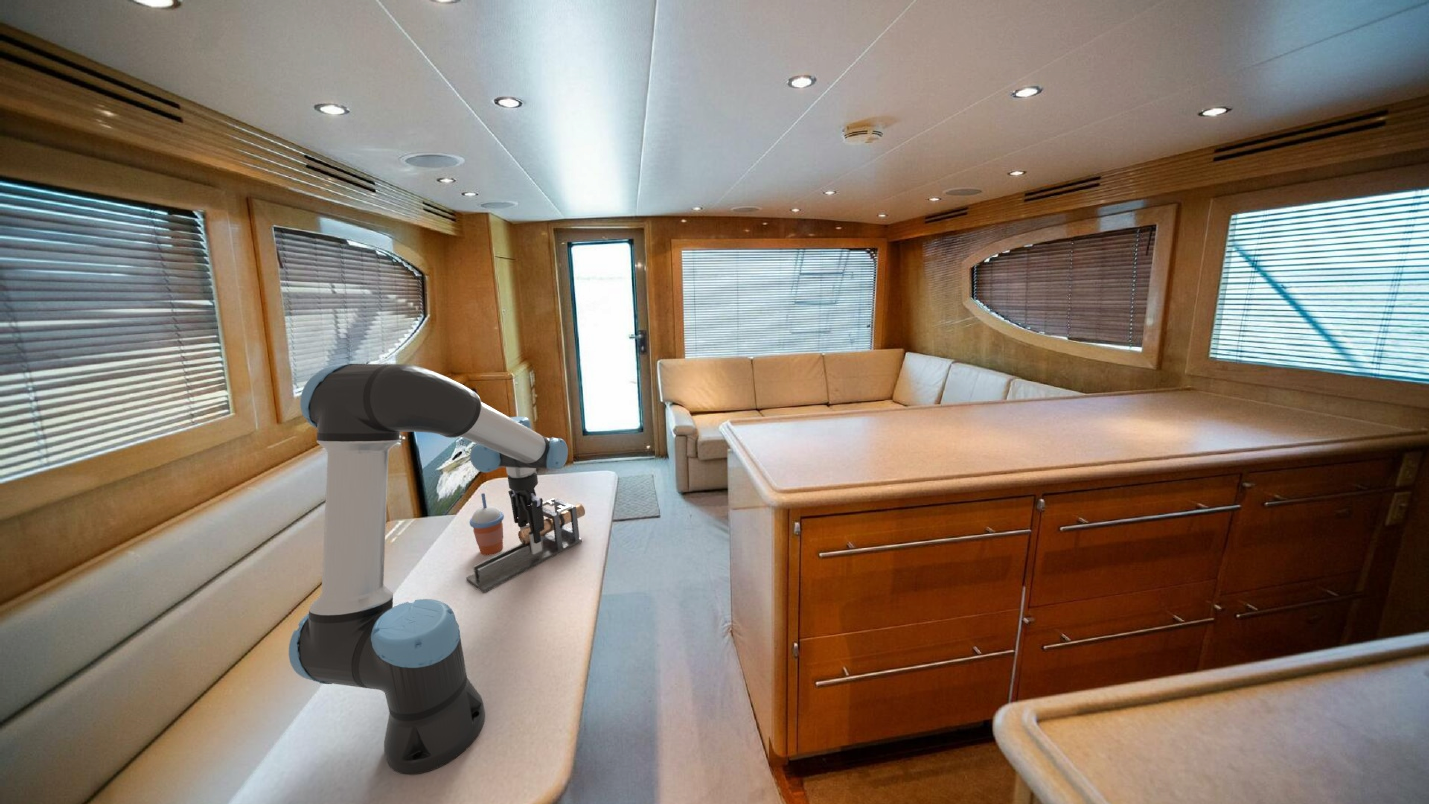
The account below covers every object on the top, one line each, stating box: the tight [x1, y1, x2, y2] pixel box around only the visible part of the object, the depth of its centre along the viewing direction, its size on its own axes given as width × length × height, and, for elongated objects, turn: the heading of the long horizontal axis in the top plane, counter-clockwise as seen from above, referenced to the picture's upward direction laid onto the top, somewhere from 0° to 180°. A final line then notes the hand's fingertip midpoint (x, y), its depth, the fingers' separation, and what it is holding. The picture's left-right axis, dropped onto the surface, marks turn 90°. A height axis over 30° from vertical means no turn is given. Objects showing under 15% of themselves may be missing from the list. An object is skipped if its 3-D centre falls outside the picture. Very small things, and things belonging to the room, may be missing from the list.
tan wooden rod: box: [517, 503, 586, 544], centre depth 143 cm, size 20×4×4 cm, turn 142°
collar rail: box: [465, 497, 583, 594], centre depth 136 cm, size 30×9×13 cm, turn 142°
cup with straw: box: [469, 492, 505, 556], centre depth 141 cm, size 9×9×18 cm
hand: (532, 549), depth 138 cm, fingers closed on tan wooden rod, 4 cm apart
